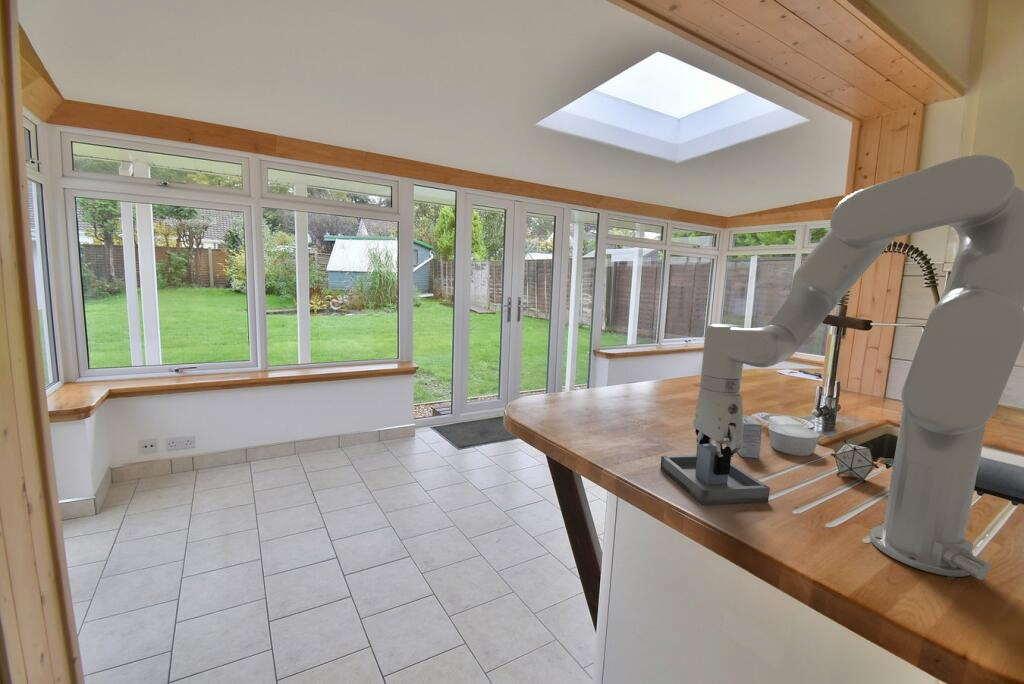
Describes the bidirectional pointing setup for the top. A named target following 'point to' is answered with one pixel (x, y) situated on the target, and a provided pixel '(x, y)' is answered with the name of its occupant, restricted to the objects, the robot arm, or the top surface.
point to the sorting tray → (734, 492)
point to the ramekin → (793, 439)
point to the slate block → (708, 465)
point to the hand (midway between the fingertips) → (712, 466)
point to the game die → (854, 460)
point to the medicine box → (750, 438)
